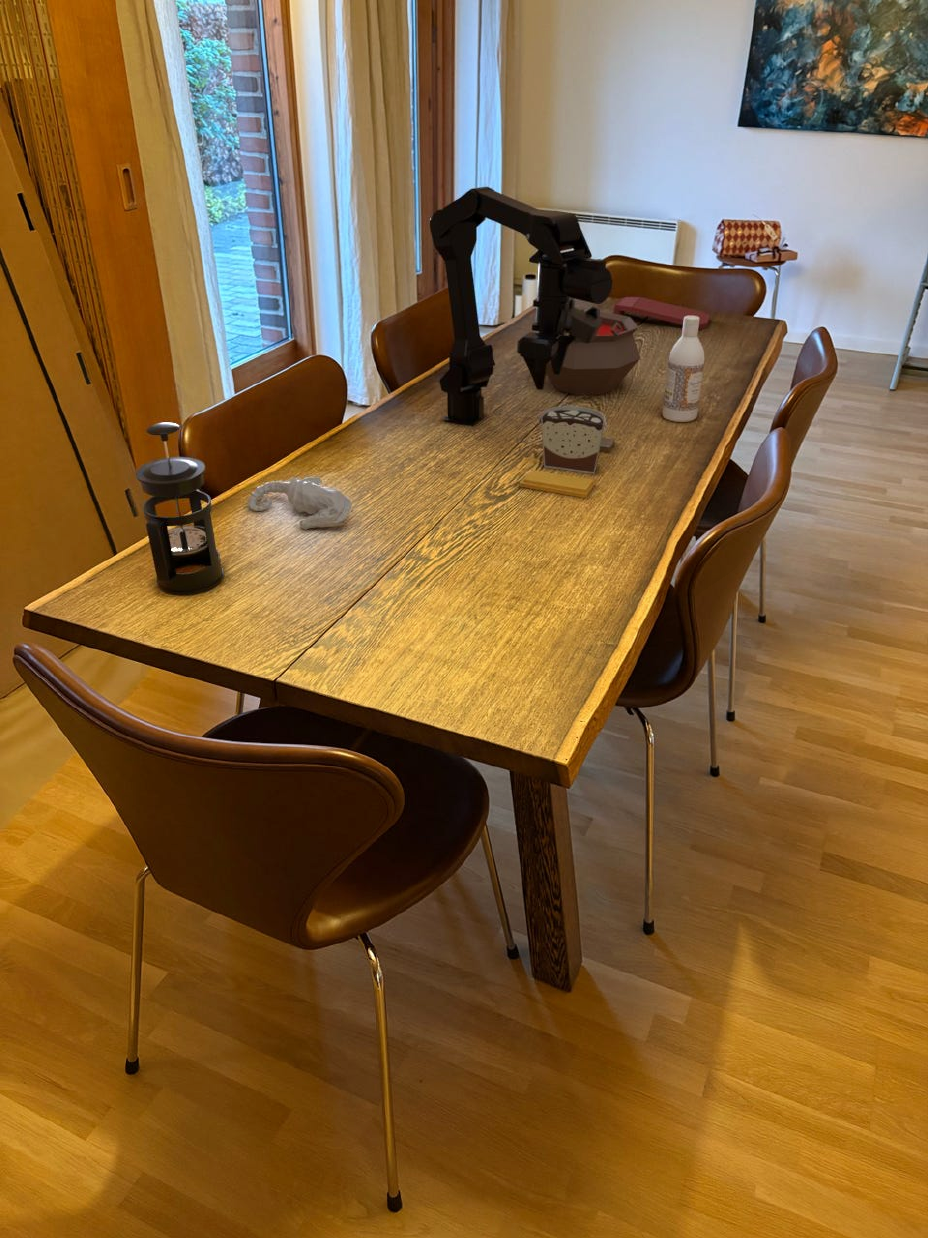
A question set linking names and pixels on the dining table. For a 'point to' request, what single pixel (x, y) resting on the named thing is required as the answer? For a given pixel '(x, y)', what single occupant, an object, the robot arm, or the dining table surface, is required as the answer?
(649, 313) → the dark red bevelled block
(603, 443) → the silver flat block
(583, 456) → the food container
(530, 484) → the yellow brown rectangular slab
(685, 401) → the bath foam
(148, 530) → the french press
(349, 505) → the seahorse
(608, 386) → the brown faceted pot
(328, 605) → the dining table surface
